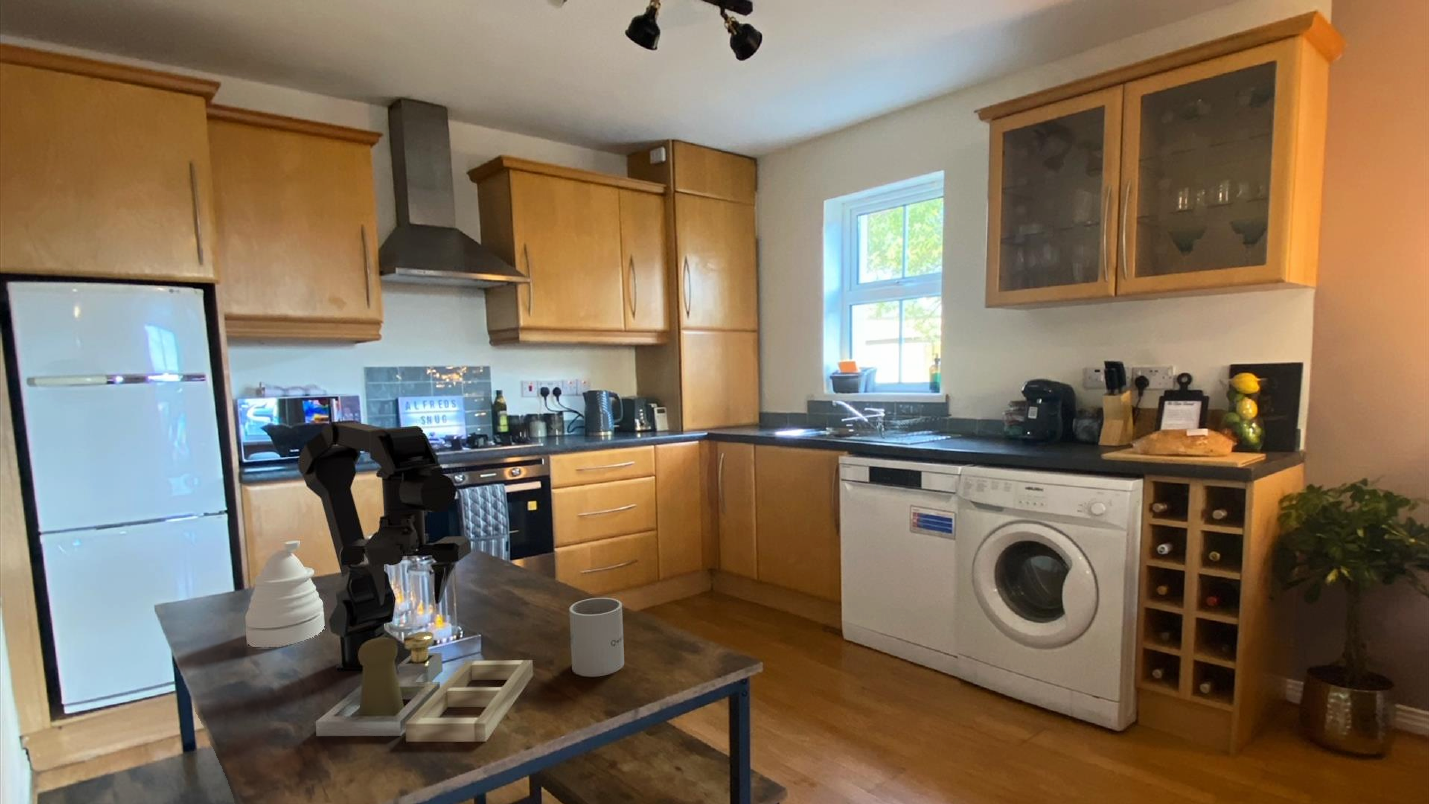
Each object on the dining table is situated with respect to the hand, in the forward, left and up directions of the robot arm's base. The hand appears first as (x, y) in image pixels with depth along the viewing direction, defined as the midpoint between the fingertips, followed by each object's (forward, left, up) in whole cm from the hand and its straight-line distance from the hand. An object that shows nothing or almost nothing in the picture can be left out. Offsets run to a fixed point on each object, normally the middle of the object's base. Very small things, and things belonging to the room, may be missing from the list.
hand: (409, 604), depth 110 cm
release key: (0, +3, -13) cm, 13 cm away
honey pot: (-36, +22, -13) cm, 44 cm away
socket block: (0, -5, -13) cm, 14 cm away
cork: (0, -9, -13) cm, 16 cm away
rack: (+13, -7, -13) cm, 20 cm away
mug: (+29, +9, -13) cm, 33 cm away
